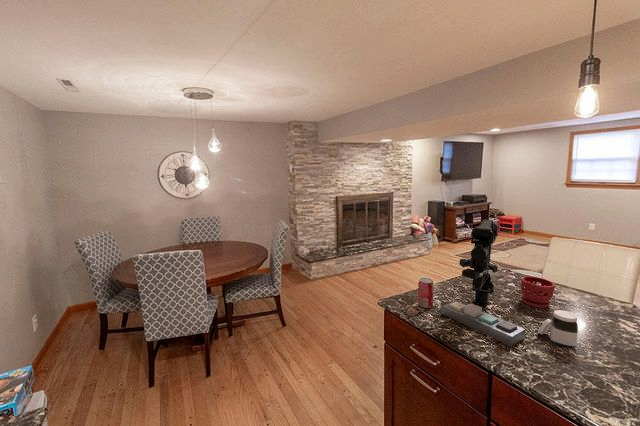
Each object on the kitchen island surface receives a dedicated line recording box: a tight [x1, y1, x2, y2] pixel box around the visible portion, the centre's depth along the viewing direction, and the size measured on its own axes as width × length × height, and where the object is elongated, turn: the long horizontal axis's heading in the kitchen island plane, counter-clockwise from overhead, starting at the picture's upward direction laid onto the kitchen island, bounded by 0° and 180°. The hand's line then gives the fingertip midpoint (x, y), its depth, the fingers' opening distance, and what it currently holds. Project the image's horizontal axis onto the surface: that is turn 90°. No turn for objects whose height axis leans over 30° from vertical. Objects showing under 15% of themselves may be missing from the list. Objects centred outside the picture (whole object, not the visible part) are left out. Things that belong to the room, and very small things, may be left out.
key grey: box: [464, 302, 483, 318], centre depth 128 cm, size 5×5×4 cm
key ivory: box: [449, 301, 467, 311], centre depth 135 cm, size 5×5×4 cm
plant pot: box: [520, 276, 556, 309], centre depth 145 cm, size 13×13×12 cm
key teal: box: [479, 313, 499, 325], centre depth 123 cm, size 5×5×4 cm
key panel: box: [441, 300, 526, 348], centre depth 126 cm, size 10×30×4 cm, turn 32°
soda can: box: [417, 277, 435, 309], centre depth 144 cm, size 7×7×13 cm
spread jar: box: [537, 309, 579, 349], centre depth 114 cm, size 12×11×12 cm
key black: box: [497, 320, 518, 333], centre depth 117 cm, size 5×5×4 cm
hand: (478, 288), depth 134 cm, fingers closed
